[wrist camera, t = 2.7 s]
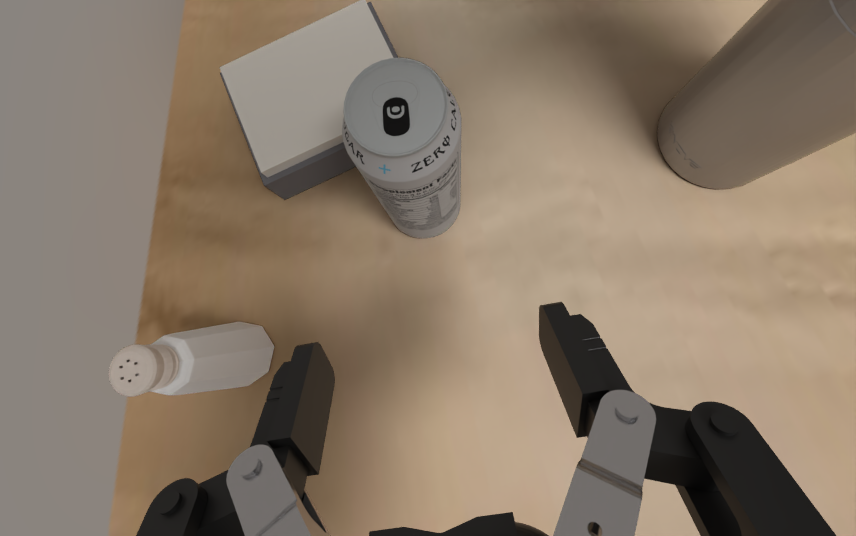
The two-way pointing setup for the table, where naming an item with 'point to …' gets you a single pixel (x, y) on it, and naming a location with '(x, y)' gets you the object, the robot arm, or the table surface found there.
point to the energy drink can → (406, 143)
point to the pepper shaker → (194, 361)
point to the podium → (304, 96)
